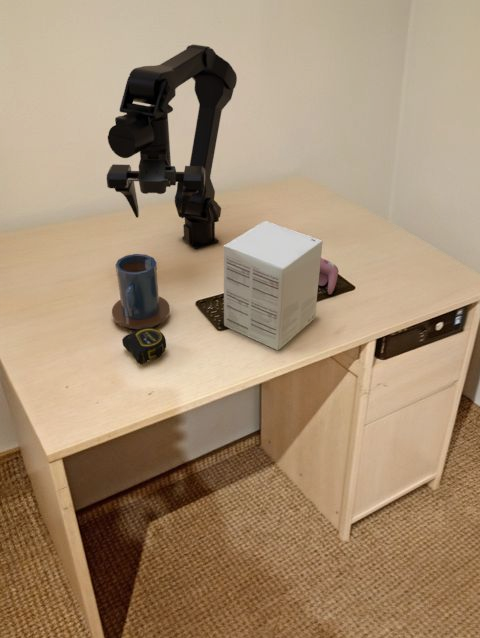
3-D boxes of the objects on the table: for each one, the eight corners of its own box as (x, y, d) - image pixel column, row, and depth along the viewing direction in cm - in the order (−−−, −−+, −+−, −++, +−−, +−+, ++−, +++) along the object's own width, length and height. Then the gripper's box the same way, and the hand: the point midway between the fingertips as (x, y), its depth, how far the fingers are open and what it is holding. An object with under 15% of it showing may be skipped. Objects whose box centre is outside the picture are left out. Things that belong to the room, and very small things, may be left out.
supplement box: (261, 296, 127) (264, 219, 116) (316, 319, 121) (324, 239, 110) (222, 326, 118) (221, 245, 107) (278, 351, 112) (283, 269, 101)
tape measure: (122, 350, 111) (119, 333, 109) (156, 337, 114) (154, 321, 112) (138, 370, 107) (136, 353, 104) (173, 357, 110) (172, 340, 107)
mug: (121, 294, 123) (114, 247, 116) (175, 299, 122) (171, 251, 116) (103, 329, 114) (95, 279, 107) (161, 334, 113) (157, 284, 106)
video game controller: (335, 294, 131) (342, 261, 130) (332, 295, 127) (338, 262, 125) (291, 285, 133) (297, 253, 132) (286, 286, 129) (292, 253, 128)
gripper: (96, 155, 109) (107, 234, 118) (201, 157, 110) (204, 236, 119) (107, 134, 118) (116, 210, 127) (204, 136, 118) (206, 211, 128)
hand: (160, 217), depth 125 cm, fingers open, 9 cm apart
